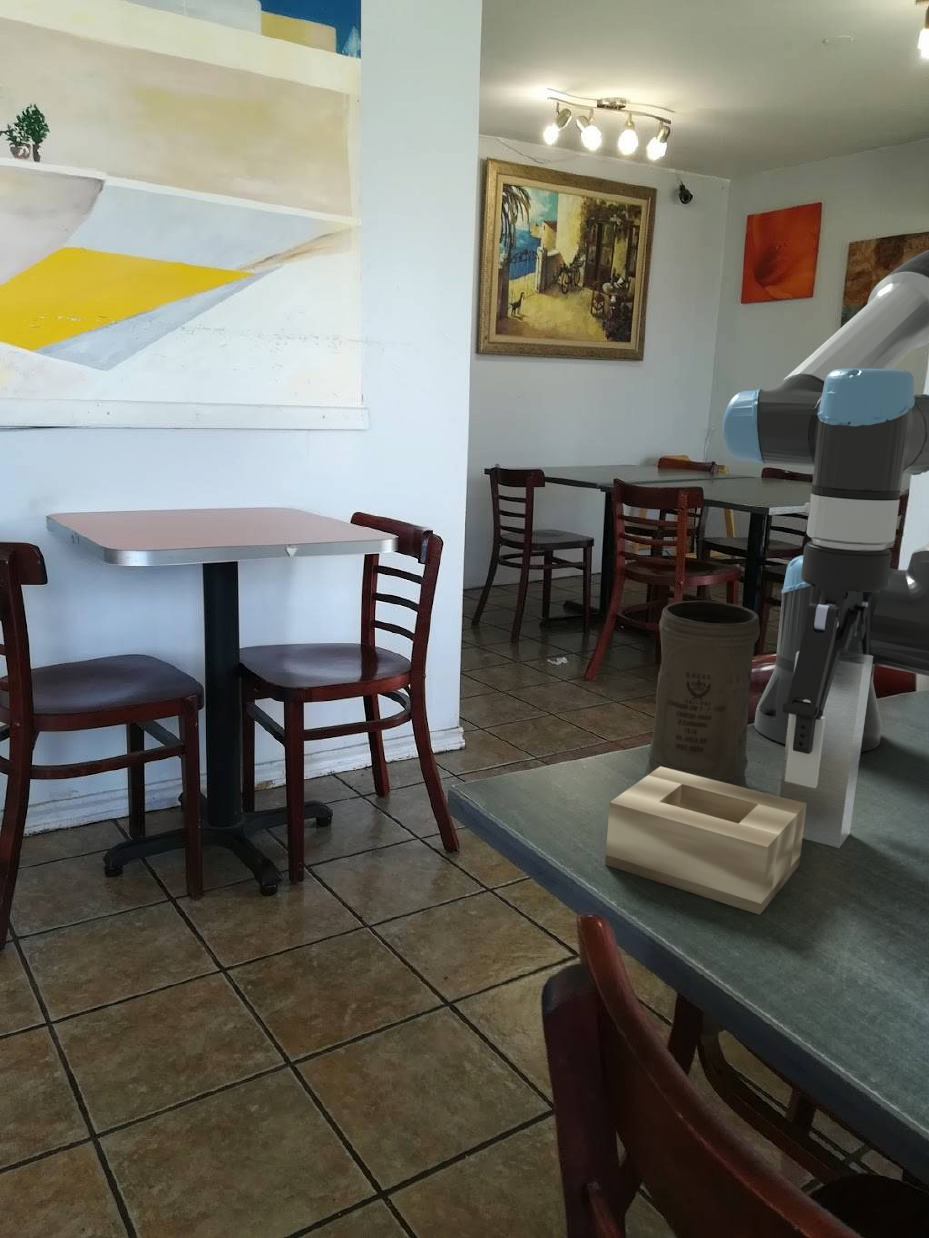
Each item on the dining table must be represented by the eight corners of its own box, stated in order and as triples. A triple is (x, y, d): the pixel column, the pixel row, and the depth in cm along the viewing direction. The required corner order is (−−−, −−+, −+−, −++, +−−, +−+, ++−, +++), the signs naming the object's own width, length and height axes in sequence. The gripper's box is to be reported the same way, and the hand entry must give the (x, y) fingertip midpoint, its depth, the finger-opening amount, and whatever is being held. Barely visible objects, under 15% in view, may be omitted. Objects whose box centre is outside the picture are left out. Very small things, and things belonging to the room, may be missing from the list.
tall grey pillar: (787, 817, 99) (808, 644, 95) (849, 833, 96) (873, 655, 92) (775, 830, 96) (796, 652, 92) (839, 848, 93) (863, 664, 89)
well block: (655, 823, 97) (660, 766, 95) (799, 865, 89) (806, 803, 88) (605, 864, 88) (609, 802, 86) (759, 914, 80) (767, 847, 79)
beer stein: (750, 817, 99) (770, 624, 94) (642, 805, 101) (657, 615, 96) (739, 763, 114) (757, 594, 109) (645, 753, 116) (659, 587, 111)
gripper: (841, 526, 102) (817, 721, 106) (763, 553, 82) (738, 792, 86) (919, 534, 98) (890, 736, 102) (858, 564, 77) (826, 814, 82)
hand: (821, 762), depth 94 cm, fingers open, 13 cm apart
